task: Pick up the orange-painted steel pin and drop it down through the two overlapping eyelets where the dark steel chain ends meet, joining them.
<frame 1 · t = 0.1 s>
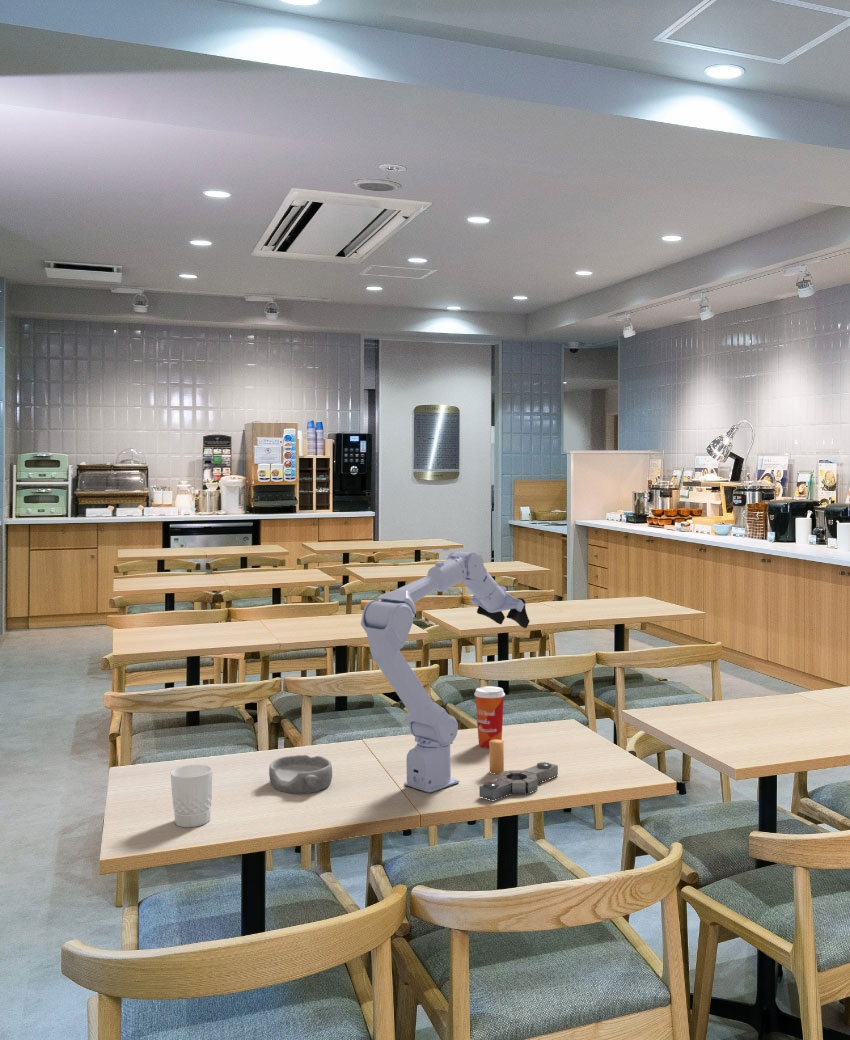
hand: (514, 622, 216), 32 cm above the table, tool tilted 50°, fingers open, 7 cm apart
paper cup: (490, 745, 226), on the table
orange pin: (496, 772, 205), on the table
white cup: (192, 822, 178), on the table
right chain end: (517, 787, 195), on the table
dish: (301, 785, 199), on the table
left chain end: (517, 787, 195), on the table
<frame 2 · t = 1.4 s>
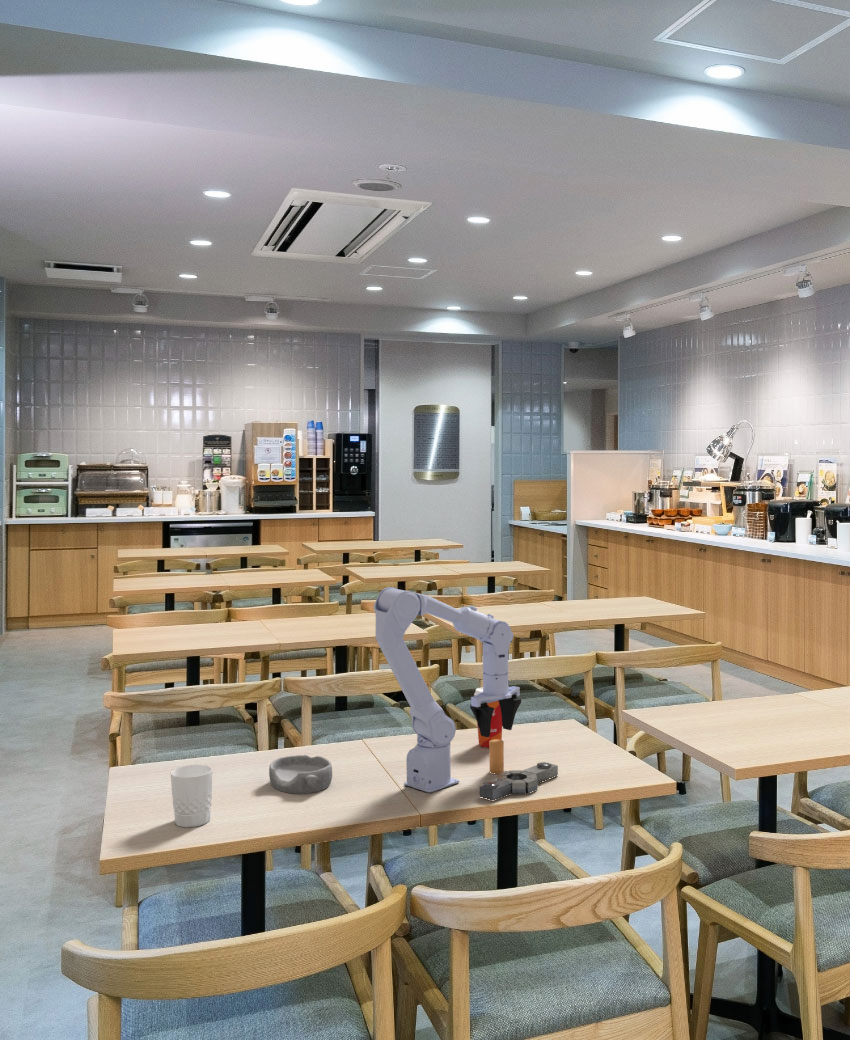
hand: (496, 732, 205), 9 cm above the table, tool pointing down, fingers open, 7 cm apart
nothing on the table moved.
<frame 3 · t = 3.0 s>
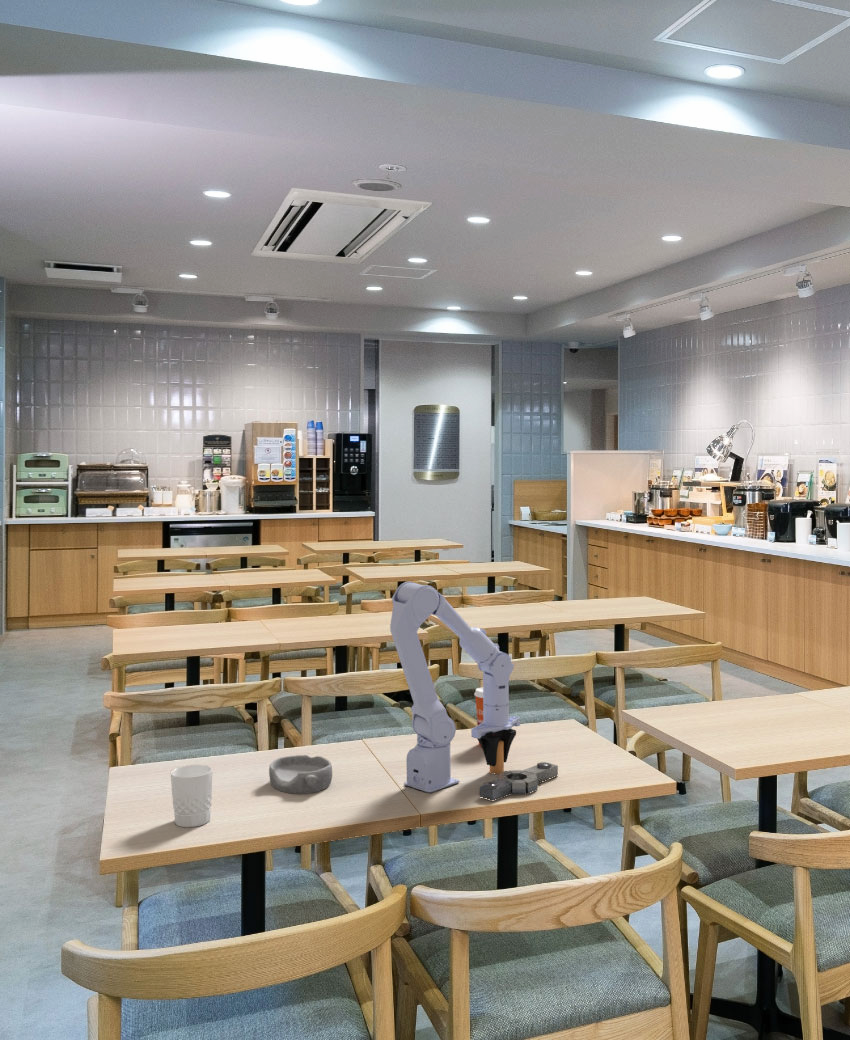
hand: (496, 763, 205), 2 cm above the table, tool pointing down, fingers closed on orange pin, 3 cm apart
orange pin: (496, 772, 205), on the table, touching gripper
everything else where it was.
when the fingers open (3 cm above the table, at t = 6.8 s): orange pin drops 1 cm, resting in left chain end.
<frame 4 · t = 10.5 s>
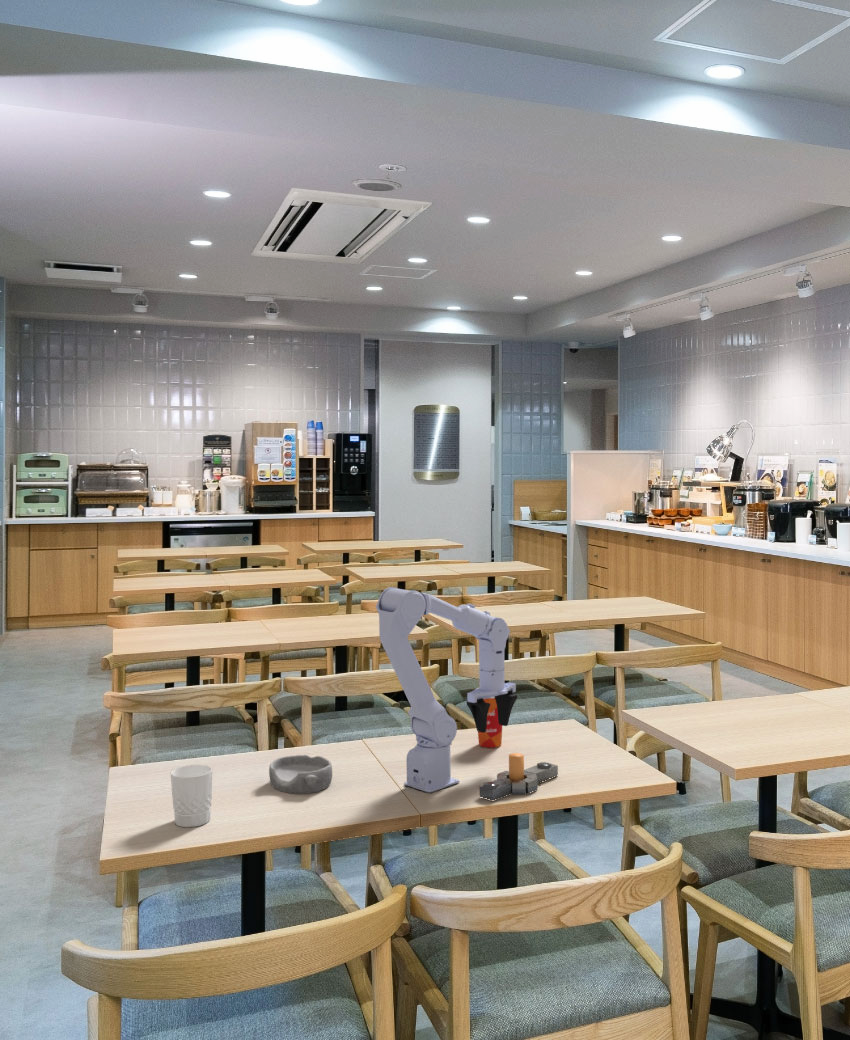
hand: (492, 728, 207), 9 cm above the table, tool pointing down, fingers open, 7 cm apart
orange pin: (516, 787, 195), resting in left chain end
everything else where it was.
at the end: orange pin 0.1 cm off-centre on the left chain end, point 0.0 cm above the left chain end's base; orange pin tilted 0°; the gripper is holding nothing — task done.
